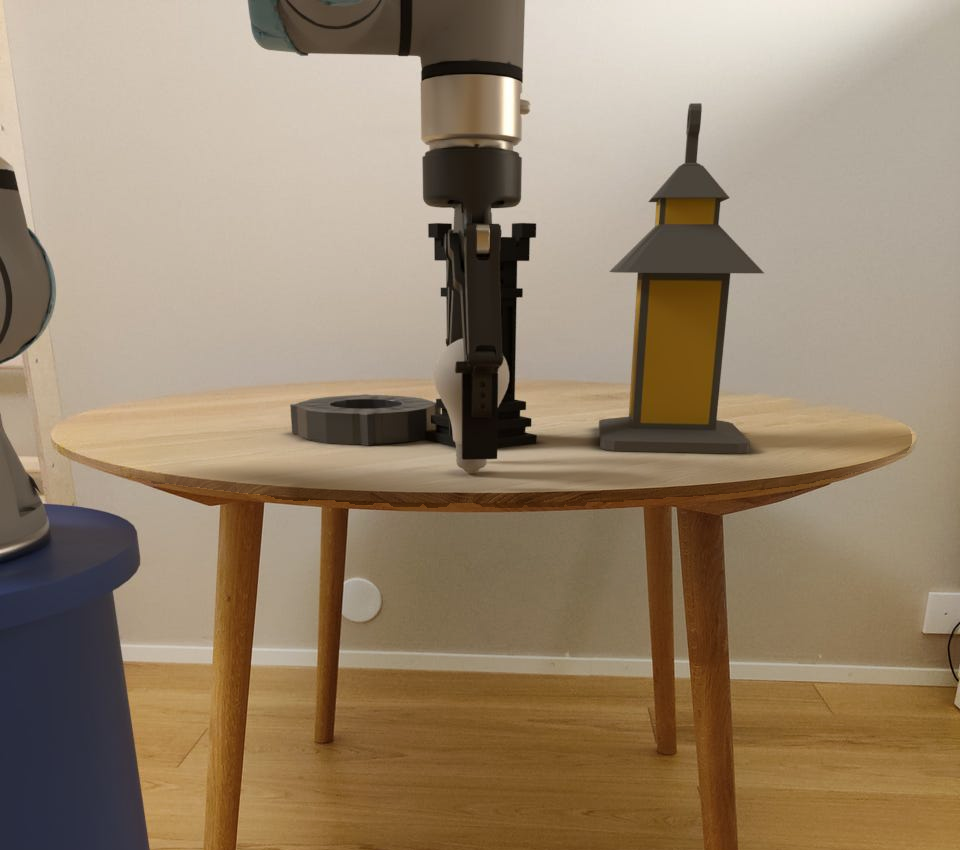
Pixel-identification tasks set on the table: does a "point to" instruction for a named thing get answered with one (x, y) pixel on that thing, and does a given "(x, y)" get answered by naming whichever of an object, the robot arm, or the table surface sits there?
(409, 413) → the hole plate
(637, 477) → the table surface
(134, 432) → the table surface
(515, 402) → the chess piece
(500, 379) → the lightbulb
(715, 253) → the lantern
